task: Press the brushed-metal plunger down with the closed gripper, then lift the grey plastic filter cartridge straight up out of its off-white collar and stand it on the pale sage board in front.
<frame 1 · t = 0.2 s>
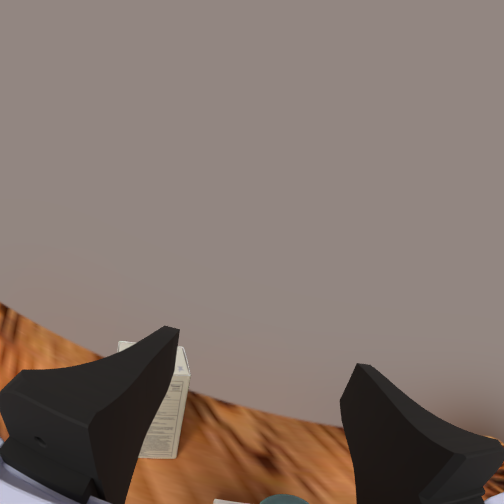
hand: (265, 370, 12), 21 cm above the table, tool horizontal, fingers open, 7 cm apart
skincare box: (144, 445, 28), on the table
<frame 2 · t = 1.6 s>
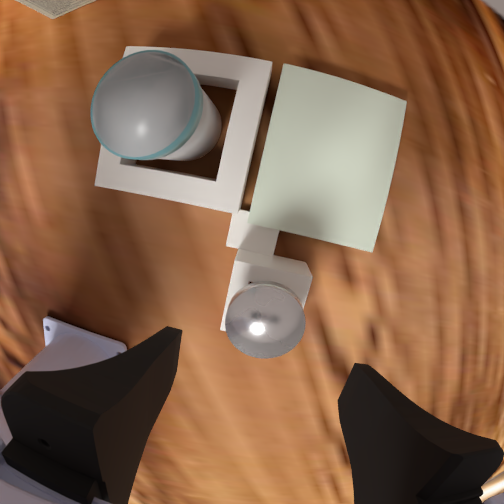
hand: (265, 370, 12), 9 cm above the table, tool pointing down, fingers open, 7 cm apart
pad: (329, 157, 19), on the table
plunger: (265, 310, 17), point 4 cm above the table, slide at 0.0 cm
holder: (186, 126, 19), on the table
cartridge: (168, 117, 15), in the holder
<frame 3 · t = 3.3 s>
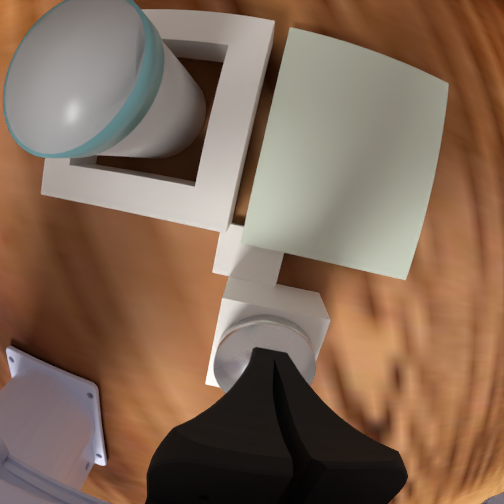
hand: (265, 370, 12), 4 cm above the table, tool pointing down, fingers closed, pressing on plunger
pad: (351, 153, 14), on the table
plunger: (264, 347, 14), point 2 cm above the table, slide at 1.4 cm, touching gripper
holder: (159, 113, 13), on the table
cartridge: (126, 95, 10), in the holder
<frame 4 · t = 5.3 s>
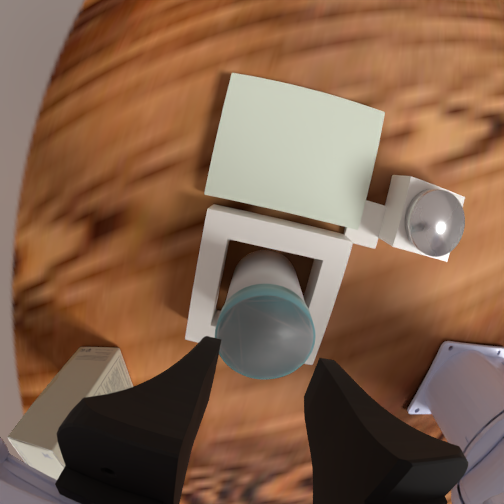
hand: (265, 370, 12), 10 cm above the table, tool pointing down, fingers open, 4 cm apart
pad: (296, 149, 20), on the table
plunger: (426, 219, 18), point 2 cm above the table, slide at 1.4 cm
holder: (264, 281, 22), on the table
cartridge: (264, 304, 18), in the holder
skincare box: (111, 374, 25), on the table
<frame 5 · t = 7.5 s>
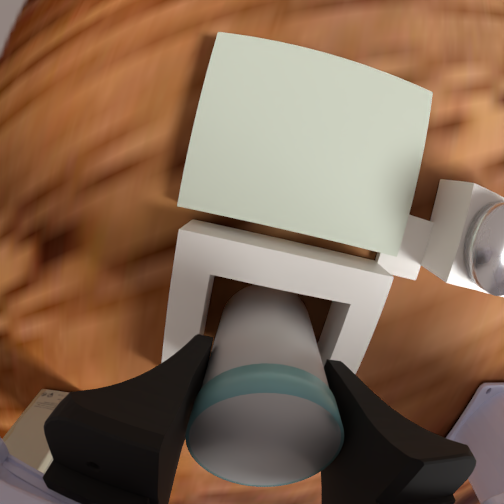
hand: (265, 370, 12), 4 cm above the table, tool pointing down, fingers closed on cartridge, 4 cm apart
pad: (310, 140, 13), on the table
plunger: (485, 241, 12), point 2 cm above the table, slide at 1.4 cm
holder: (265, 325, 16), on the table
cartridge: (265, 371, 12), in the holder, touching gripper
skincare box: (81, 420, 19), on the table
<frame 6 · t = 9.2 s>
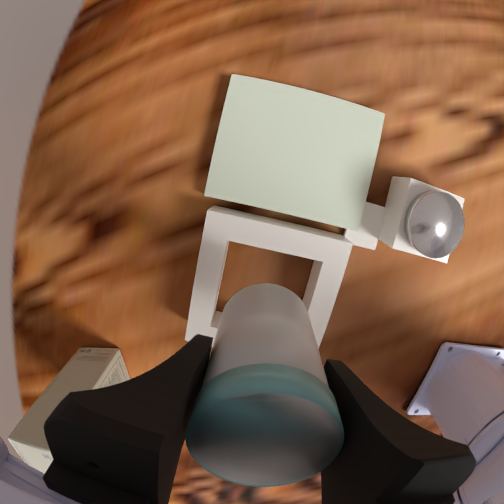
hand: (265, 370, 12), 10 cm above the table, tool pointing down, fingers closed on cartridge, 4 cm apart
pad: (295, 151, 20), on the table
plunger: (425, 220, 18), point 2 cm above the table, slide at 1.4 cm
holder: (264, 282, 22), on the table
cartridge: (265, 371, 12), point 10 cm above the table, touching gripper
skincare box: (111, 375, 25), on the table
when the fingers open (6 cm above the table, at t = 11.4 s): cartridge stays where it is, resting on pad.
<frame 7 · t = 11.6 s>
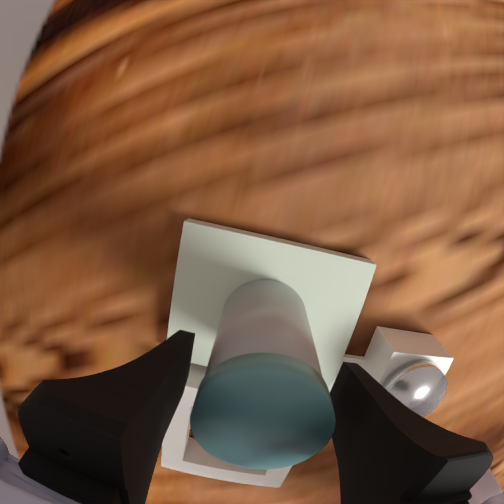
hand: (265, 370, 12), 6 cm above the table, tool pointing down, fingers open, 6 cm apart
pad: (265, 308, 18), on the table
plunger: (405, 380, 16), point 2 cm above the table, slide at 1.4 cm
holder: (234, 420, 20), on the table
cartridge: (263, 361, 13), on the pad, point 5 cm above the table
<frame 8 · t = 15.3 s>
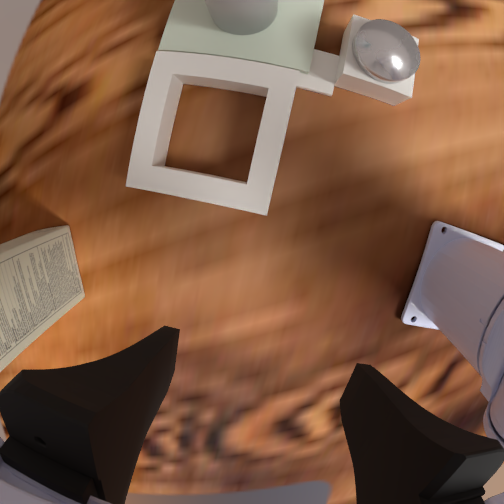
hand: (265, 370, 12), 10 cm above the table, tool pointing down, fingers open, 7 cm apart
pad: (245, 13, 17), on the table
plunger: (379, 57, 16), point 2 cm above the table, slide at 1.4 cm
holder: (215, 130, 20), on the table
skincare box: (61, 264, 23), on the table
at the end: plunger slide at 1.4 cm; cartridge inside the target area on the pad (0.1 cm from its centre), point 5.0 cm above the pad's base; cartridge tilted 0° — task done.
